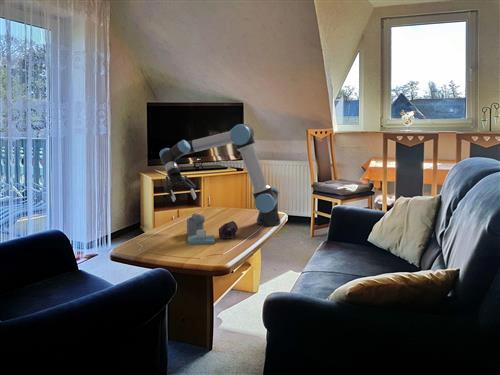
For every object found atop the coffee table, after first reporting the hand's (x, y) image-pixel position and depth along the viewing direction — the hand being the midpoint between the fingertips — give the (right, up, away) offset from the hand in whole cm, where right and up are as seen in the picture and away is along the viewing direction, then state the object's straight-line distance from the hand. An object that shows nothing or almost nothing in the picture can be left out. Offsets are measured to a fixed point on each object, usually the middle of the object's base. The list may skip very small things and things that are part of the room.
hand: (185, 199), depth 256 cm
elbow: (+7, -20, -6) cm, 22 cm away
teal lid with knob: (+11, -22, -19) cm, 31 cm away
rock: (+26, -21, -12) cm, 36 cm away
